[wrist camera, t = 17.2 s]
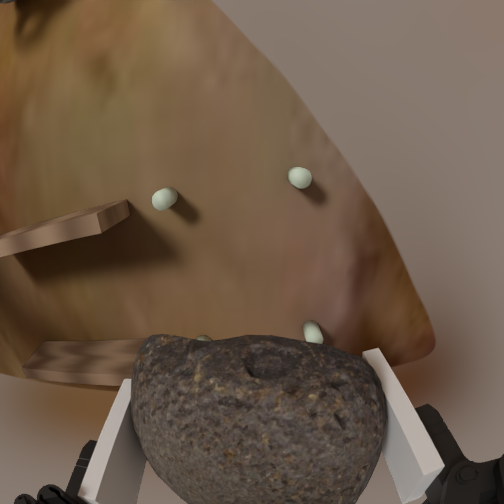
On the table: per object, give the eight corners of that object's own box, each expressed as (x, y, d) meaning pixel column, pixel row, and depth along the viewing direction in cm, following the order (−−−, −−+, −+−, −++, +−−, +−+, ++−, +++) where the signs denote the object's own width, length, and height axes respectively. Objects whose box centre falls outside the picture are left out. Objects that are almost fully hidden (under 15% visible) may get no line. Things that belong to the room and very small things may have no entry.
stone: (182, 389, 17) (282, 509, 12) (67, 397, 10) (203, 589, 5) (292, 278, 16) (422, 405, 11) (208, 217, 9) (461, 470, 4)
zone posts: (198, 348, 30) (195, 362, 27) (158, 188, 24) (150, 192, 22) (318, 332, 29) (323, 345, 27) (304, 165, 24) (310, 166, 22)
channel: (48, 350, 30) (27, 377, 24) (3, 234, 25) (-30, 250, 19) (169, 348, 30) (156, 386, 24) (126, 199, 25) (96, 213, 19)
